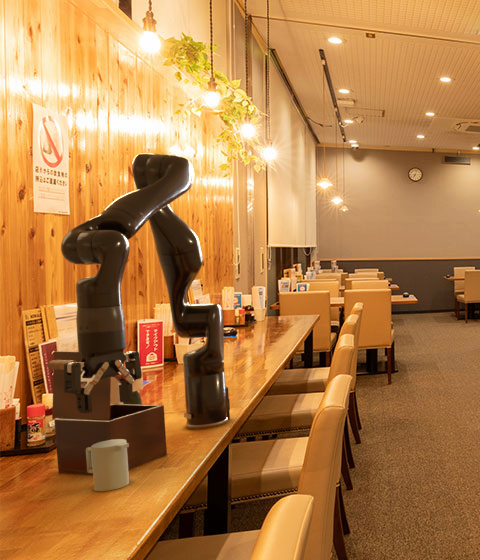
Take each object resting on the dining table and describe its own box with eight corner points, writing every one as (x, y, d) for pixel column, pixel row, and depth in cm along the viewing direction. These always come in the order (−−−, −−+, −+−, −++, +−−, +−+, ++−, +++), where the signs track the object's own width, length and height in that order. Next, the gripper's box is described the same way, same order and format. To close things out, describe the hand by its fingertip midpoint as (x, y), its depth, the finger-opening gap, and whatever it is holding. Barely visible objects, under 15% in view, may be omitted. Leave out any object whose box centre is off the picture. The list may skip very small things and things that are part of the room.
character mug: (118, 410, 192) (115, 367, 191) (147, 407, 196) (145, 365, 195) (110, 419, 183) (107, 374, 182) (141, 415, 186) (138, 371, 185)
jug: (75, 490, 130) (72, 446, 130) (102, 479, 136) (99, 438, 135) (114, 492, 129) (111, 448, 128) (139, 481, 135) (137, 439, 134)
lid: (57, 351, 140) (30, 353, 135) (111, 352, 138) (86, 354, 133) (56, 417, 140) (29, 422, 135) (110, 419, 138) (85, 424, 133)
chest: (117, 452, 154) (113, 403, 153) (166, 454, 152) (163, 405, 151) (58, 472, 140) (54, 419, 140) (112, 475, 138) (108, 421, 138)
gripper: (82, 333, 123) (87, 417, 124) (149, 324, 137) (153, 399, 138) (48, 333, 124) (54, 416, 125) (118, 323, 138) (123, 398, 139)
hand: (106, 407), depth 131 cm, fingers open, 8 cm apart
